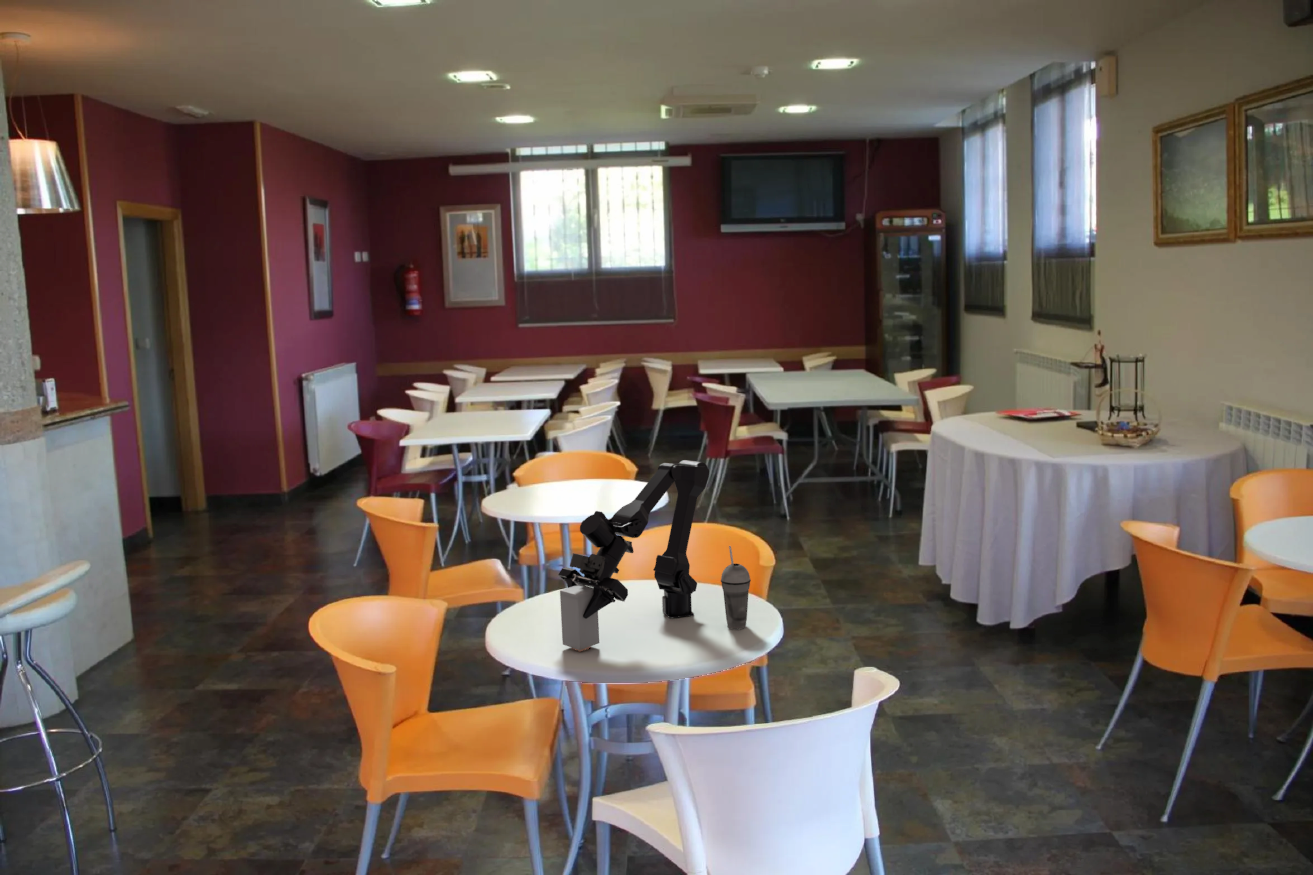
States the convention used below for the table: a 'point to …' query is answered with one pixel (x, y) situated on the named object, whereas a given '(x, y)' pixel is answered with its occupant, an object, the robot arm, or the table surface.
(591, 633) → the smooth gray cuboid
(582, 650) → the terracotta block
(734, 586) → the beverage cup
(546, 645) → the table surface
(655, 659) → the table surface
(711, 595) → the table surface
